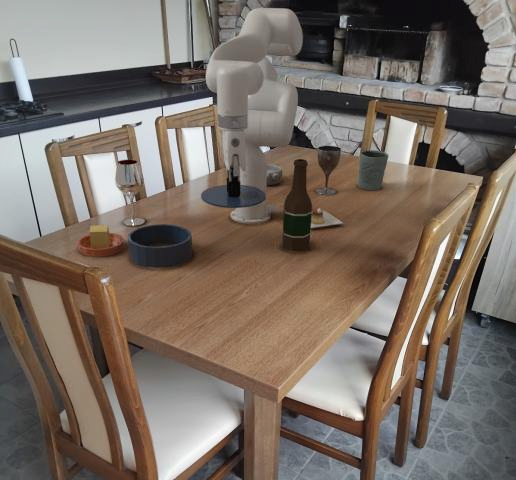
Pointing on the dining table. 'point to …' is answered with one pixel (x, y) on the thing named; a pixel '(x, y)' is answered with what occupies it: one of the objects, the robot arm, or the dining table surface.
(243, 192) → the lid
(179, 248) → the pan
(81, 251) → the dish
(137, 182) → the wineglass
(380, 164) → the green cup
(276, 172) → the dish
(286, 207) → the beer bottle
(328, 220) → the dessert
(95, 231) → the cheese block
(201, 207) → the dining table surface
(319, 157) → the wine glass
